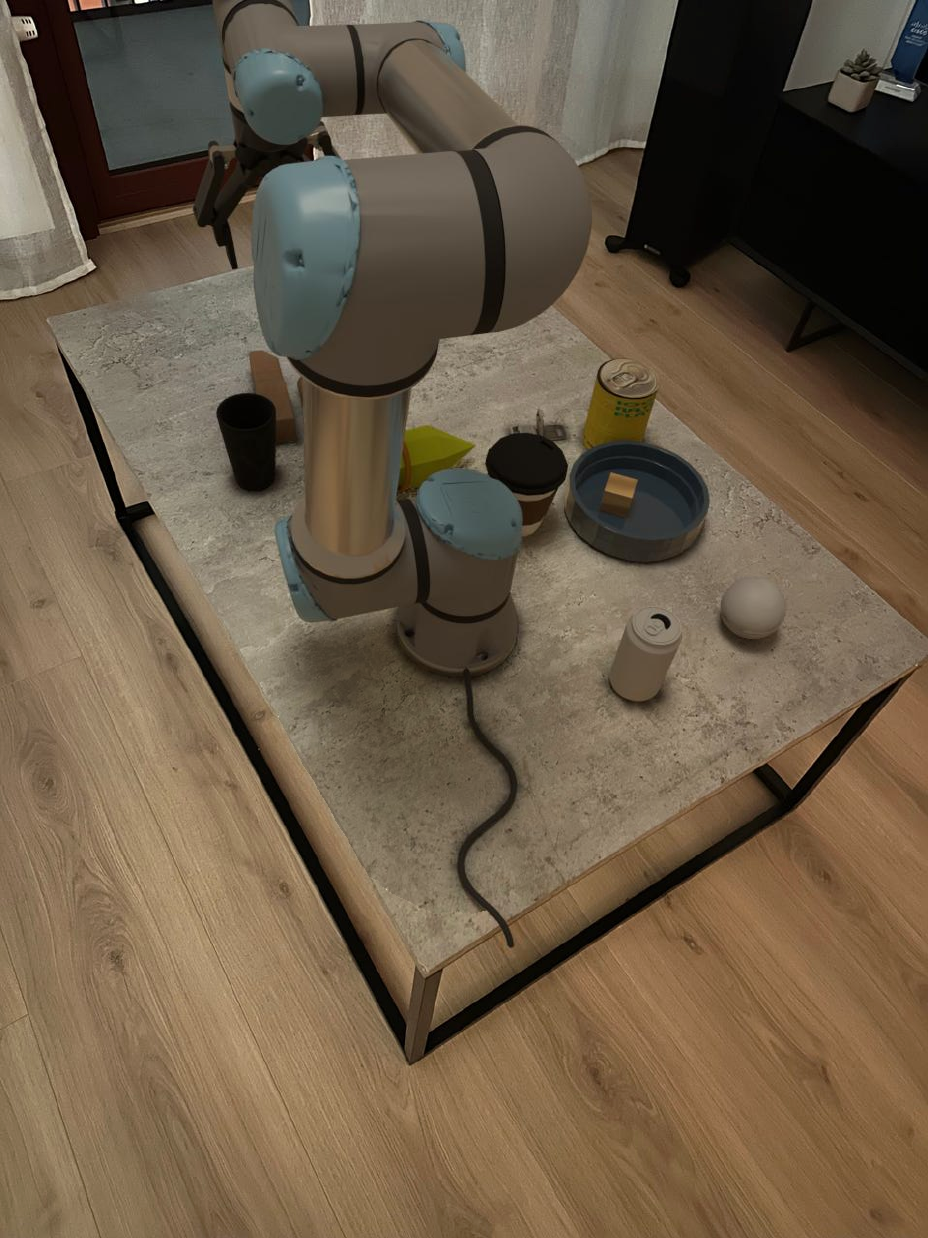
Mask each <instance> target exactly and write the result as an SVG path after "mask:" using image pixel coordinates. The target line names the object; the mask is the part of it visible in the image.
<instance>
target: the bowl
mask: <svg viewBox="0 0 928 1238" xmlns="http://www.w3.org/2000/svg"><path fill="white" fill-rule="evenodd" d="M610 473H615V474H619V475H622V476H626V477H629V478H633V479H637V480H638V482H637V485H636V488H635V492H634V495H633V499H632V502H631V505H630V508H629V511H628V514H627V517H626V518H624V517H621V516H617V515H614V514H610V513H607V512H603V511H600V510H599V509H600V505H601V502H602V498H603V494H604V491H605V488H606V485H607V482H608V479H609V475H610ZM563 501H564V512H565V515H566V518H567V520H568V523H569V524H570V525H571V527H572V528H573V529H574V531H575V532H576V533H577V534H578V536H579V537H581V538H582V539H583V540H584V541H585V542H586V543H587V544H589V545H591V546H592V547H593V548H594V549H596V550H598V551H600V552H601V553H604V554H606V555H609V556H611V557H614V558H617V559H621V560H625V561H632V562H639V563H641V562H643V563H644V562H645V563H646V562H647V563H648V562H657V561H664V560H667V559H669V558H673V557H676V556H678V555H680V554H682V553H683V552H684V551H685V550H687V549H688V548H690V547H691V546H692V545H693V544H694V542H695V541H696V539H697V538H698V536H699V534H700V531H701V529H702V527H703V524H704V522H705V520H706V517H707V515H708V511H709V507H710V503H711V498H710V494H709V488H708V485H707V484H706V482H705V480H704V478H703V475H701V474H700V472H699V471H698V470H697V469H696V468H695V467H694V465H692V464H691V463H690V462H689V461H688V460H686V458H683V457H682V456H681V455H679V454H678V453H675V452H673V451H672V450H669V449H667V448H666V447H665V448H664V447H662V446H660V445H656V444H654V443H653V444H652V443H649V442H645V441H642V442H639V441H628V440H623V441H612V442H607V443H604V444H600V445H597V446H594V447H592V448H591V449H589V450H587V449H586V450H585V451H584V452H583V453H581V454H580V456H579V457H578V458H577V459H576V460H575V461H574V462H573V465H572V467H571V470H570V473H569V475H568V480H567V484H566V489H565V493H564V500H563Z"/></svg>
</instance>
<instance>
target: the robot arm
mask: <svg viewBox="0 0 928 1238" xmlns="http://www.w3.org/2000/svg"><path fill="white" fill-rule="evenodd" d="M212 5H213V11H214V17H215V24H216V29H217V34H218V40H219V44H220V45H219V46H220V50H221V58H222V64H223V69H224V76H225V77H224V78H225V83H226V91H227V95H228V99H229V108H230V114H231V119H232V125H233V131H234V140H233V143H232V144H226V145H219V143H218V141H217V140H211V141H209V142H208V144H207V152H208V161H207V162H206V163H207V164H206V166H205V170H204V172H203V176H202V180H201V182H200V185H199V188H198V190H197V194H196V197H195V200H194V203H193V206H192V213H193V214H194V218H195V221H196V224H197V226H198V227H199V228H206V227H207V226H209V227H211V228H212V233H213V237H214V240H215V244H216V245H217V246H218V247H219V248H221V247H225V252H226V256H227V259H228V261H229V264H230V267H231V270H232V271H233V270H237V269H239V267H238V261H237V256H236V250H235V244H234V240H233V235H232V230H231V227H230V224H229V220H228V219H229V218H230V217H231V215H232V214H233V212H234V211H235V210H236V208H237V207H238V205H239V203H240V202H241V201H242V199H243V198H244V197H245V196H246V194H247V192H248V191H249V189H253V188H254V187H255V185H256V184H257V182H258V181H259V180H260V179H262V180H261V181H260V183H259V186H258V188H257V190H256V194H255V198H254V201H253V202H254V203H253V210H252V218H251V219H252V220H251V240H250V241H251V260H252V262H253V275H252V276H253V277H252V278H253V292H254V300H255V306H256V311H257V317H258V322H259V326H260V330H261V333H262V336H263V339H264V342H265V344H266V345H267V348H268V349H269V350H270V352H271V353H273V354H274V355H275V356H276V355H277V357H285V358H286V359H287V361H288V363H289V364H290V366H291V367H292V369H293V370H294V371H295V372H296V373H297V374H298V375H299V376H300V377H302V379H303V406H302V413H303V415H302V416H303V418H302V419H303V421H302V422H303V455H304V456H303V457H304V458H303V459H304V494H303V495H302V496H301V497H300V498H299V500H298V501H297V503H296V505H295V507H294V509H293V512H292V514H290V515H289V514H288V515H287V516H286V517H284V518H283V517H282V518H280V519H278V520H277V521H276V522H275V524H274V535H275V541H276V544H277V550H278V554H279V558H280V562H281V566H282V571H283V574H284V578H285V580H286V581H285V582H286V584H287V587H288V591H289V595H290V599H291V602H292V604H293V608H294V611H295V613H296V615H297V617H298V618H299V619H300V620H302V621H303V622H306V623H309V624H310V623H312V624H313V623H320V622H330V623H331V622H336V621H338V620H340V619H346V618H350V617H355V616H360V615H364V614H371V613H374V612H375V613H376V612H380V611H385V610H390V609H395V608H397V612H396V637H397V639H398V642H399V644H400V646H401V649H402V650H403V651H404V653H405V654H406V655H407V657H408V658H409V659H410V660H411V661H412V662H414V663H415V664H416V665H417V666H419V667H421V668H422V669H424V670H426V671H428V672H430V673H433V674H436V675H438V676H442V677H446V678H447V677H448V678H455V679H457V678H458V679H459V678H461V679H462V678H463V680H464V688H465V695H466V712H467V717H468V721H469V724H470V726H471V728H472V731H473V732H474V734H475V736H476V737H477V738H478V739H479V741H480V742H481V743H482V744H483V745H484V746H485V747H486V748H487V749H488V750H489V751H490V752H491V753H492V754H493V755H494V756H495V757H496V758H497V759H498V760H499V761H500V762H501V764H502V765H503V766H504V767H505V769H506V771H507V773H508V776H509V779H510V791H509V794H508V797H507V799H506V800H505V802H504V803H503V804H502V806H501V807H500V808H499V809H498V810H497V811H496V812H495V813H494V814H492V815H491V816H490V817H489V818H487V819H486V820H484V822H482V823H481V824H479V825H478V826H477V827H476V828H475V829H474V830H473V831H472V832H470V833H469V835H468V836H467V837H466V838H465V840H464V842H463V843H462V844H461V847H460V850H459V852H458V854H457V855H458V856H457V862H456V863H457V864H456V866H457V874H458V877H459V880H460V882H461V884H462V886H463V887H464V889H465V890H466V892H467V893H468V894H469V895H470V896H471V897H472V898H473V899H474V901H476V902H477V903H478V904H479V905H480V906H481V907H482V908H483V909H484V910H485V911H486V912H487V913H488V914H490V915H491V917H492V918H493V919H494V920H495V922H496V923H497V924H498V926H499V927H500V929H501V931H502V933H503V935H504V938H505V941H506V945H507V947H508V948H510V949H512V948H514V947H515V942H514V938H513V934H512V932H511V929H510V927H509V924H508V923H507V921H506V920H505V918H504V917H503V916H502V914H501V913H499V911H498V910H497V909H496V908H495V907H494V905H492V904H491V903H490V902H489V901H488V900H486V899H485V898H484V896H482V895H481V894H480V893H479V892H478V890H476V889H475V887H474V886H473V885H472V884H471V882H470V880H469V878H468V875H467V873H466V869H465V860H466V854H467V852H468V849H469V847H470V846H471V845H472V843H473V842H474V841H475V840H476V839H477V838H478V837H479V836H480V835H481V834H482V833H483V832H484V831H486V830H487V829H488V828H489V827H491V826H492V825H493V824H494V823H496V822H497V821H498V820H499V819H501V818H502V817H503V816H504V815H505V814H506V812H507V811H509V809H510V808H511V806H512V805H513V803H514V801H515V799H516V796H517V792H518V778H517V774H516V771H515V769H514V767H513V765H512V764H511V762H510V760H509V759H508V758H507V757H506V756H505V755H504V754H503V753H502V751H501V750H499V748H498V747H496V746H495V744H494V743H492V742H491V741H490V740H489V738H488V737H487V736H486V735H485V734H484V733H483V732H482V730H481V728H480V727H479V724H478V722H477V720H476V717H475V711H474V696H473V688H472V682H471V681H472V680H471V678H472V677H477V676H481V675H484V674H486V673H489V672H491V671H493V670H494V669H496V668H497V667H499V666H500V665H502V664H503V663H504V662H505V661H506V659H508V658H509V657H510V655H511V653H512V652H513V649H514V647H515V644H516V641H517V637H518V632H519V616H518V613H517V609H516V606H515V602H514V599H513V596H512V593H511V589H512V585H513V581H514V575H515V569H516V565H517V559H518V555H519V550H520V548H521V546H522V543H523V537H522V533H521V531H522V519H523V518H522V510H521V507H520V504H519V502H518V500H517V499H516V497H515V495H514V494H513V493H512V492H511V491H510V489H509V488H508V487H506V486H505V485H504V484H503V483H502V482H500V481H499V480H496V479H493V478H491V477H489V475H488V473H485V472H483V471H479V470H475V469H472V468H471V469H470V468H461V467H460V468H459V467H457V468H456V467H455V468H454V467H453V468H452V469H445V470H442V471H439V472H436V473H434V474H432V475H431V476H429V477H428V480H427V481H425V482H423V483H422V485H421V487H418V491H417V492H416V496H412V497H411V496H410V497H406V498H400V499H397V495H398V494H397V493H398V492H397V487H398V480H399V473H400V466H401V459H402V452H403V445H404V438H405V431H406V430H407V423H408V417H409V408H410V403H411V395H412V389H413V388H414V387H415V386H416V385H418V384H419V383H420V382H421V381H423V380H424V378H425V377H426V376H427V375H428V373H429V372H430V370H432V367H433V365H434V363H435V361H436V358H437V355H438V350H439V344H440V340H444V339H452V338H462V337H469V336H477V335H485V334H492V333H500V332H503V331H508V330H511V329H515V328H518V327H520V326H522V325H525V324H526V323H528V322H530V321H532V320H533V319H535V318H537V317H538V316H540V315H541V314H543V313H545V312H546V311H547V310H549V308H550V307H551V306H552V305H554V304H555V303H556V302H557V300H559V299H560V298H561V297H562V296H563V294H564V293H565V292H566V291H567V290H568V289H569V287H570V285H571V284H572V282H573V280H575V277H576V276H577V274H578V272H579V271H580V268H581V267H582V264H583V261H584V259H585V256H586V253H587V251H588V247H589V244H590V243H589V242H590V239H591V234H592V224H593V211H592V210H593V209H592V202H591V196H590V195H591V194H590V190H589V188H588V184H587V182H586V179H585V177H584V174H583V172H582V171H581V169H580V167H579V165H578V163H577V161H575V159H574V157H572V155H571V154H570V153H569V152H568V151H567V150H566V149H565V147H564V146H562V145H561V144H560V143H559V142H558V141H557V140H556V139H555V138H554V137H552V136H551V135H550V134H549V133H548V132H546V131H544V130H542V129H541V128H539V127H536V126H534V125H533V126H532V125H530V124H529V125H528V124H518V123H517V122H516V120H514V119H513V118H512V117H511V116H510V115H509V114H508V113H507V112H506V111H505V110H504V109H503V108H502V107H501V106H500V105H499V104H498V103H497V102H496V101H495V100H494V99H493V98H492V97H491V96H490V95H489V94H488V93H487V92H486V91H485V90H484V89H482V88H481V86H480V85H478V84H477V82H475V80H473V79H472V78H471V77H470V75H468V74H467V64H466V63H467V62H466V54H465V53H466V52H465V47H464V45H463V42H462V41H461V40H462V39H461V36H460V33H459V31H458V30H457V28H456V27H455V26H454V25H453V24H451V23H448V22H436V21H435V22H434V21H427V20H423V19H418V20H415V21H410V22H389V23H388V22H387V23H385V22H384V23H383V22H382V23H363V24H361V23H360V24H325V25H323V24H321V25H299V22H298V19H297V16H296V13H295V10H294V7H293V4H292V0H212ZM367 115H369V116H370V115H386V116H387V117H388V118H389V119H390V120H391V122H392V123H393V125H394V126H395V127H396V129H397V130H398V131H399V132H400V133H401V135H402V137H403V138H404V139H405V141H406V142H407V143H408V144H409V146H410V148H411V149H412V150H413V151H414V153H413V154H400V155H389V156H387V155H386V156H374V157H364V158H351V159H343V158H342V157H341V156H340V154H339V153H338V151H337V149H336V148H335V147H334V145H333V143H332V138H331V136H330V134H329V132H328V131H329V130H328V129H327V127H326V125H325V122H324V121H322V118H333V117H335V118H336V117H350V116H367ZM309 145H312V146H313V148H314V149H316V150H318V152H322V153H323V156H320V157H317V158H316V159H314V160H311V158H309V157H307V155H305V152H306V150H307V149H308V147H309ZM234 159H236V160H237V162H236V163H235V168H234V170H233V172H232V173H231V175H230V176H229V178H228V180H227V181H226V183H225V184H224V185H223V187H222V184H223V181H224V178H225V173H226V170H228V169H229V168H230V164H231V161H233V160H234ZM221 187H222V188H221ZM220 189H221V190H220Z"/></svg>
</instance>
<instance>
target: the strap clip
mask: <svg viewBox="0 0 928 1238" xmlns="http://www.w3.org/2000/svg"><path fill="white" fill-rule="evenodd" d="M544 417H546V415H545V412H544V410H543V409H541V408H537V410H536V419H535V420H536V424H535V425H533V424H532V423H531V424H530V423H529V424H527V423H526V424H515V425H511V426H510V427H509V435H510V434H513V433H514V432H517V433H532V434H537V435H541V436H543V437H545V438H547V439H549V440H551V441H560V440H563V439H566V437H567V433H566V430H565V428H564V425H562V424H548V425H545V420H544ZM535 426H536V427H535ZM536 428H537V430H536ZM557 429H560V430H561V433H562V435H559V433H558V430H557Z"/></svg>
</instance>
